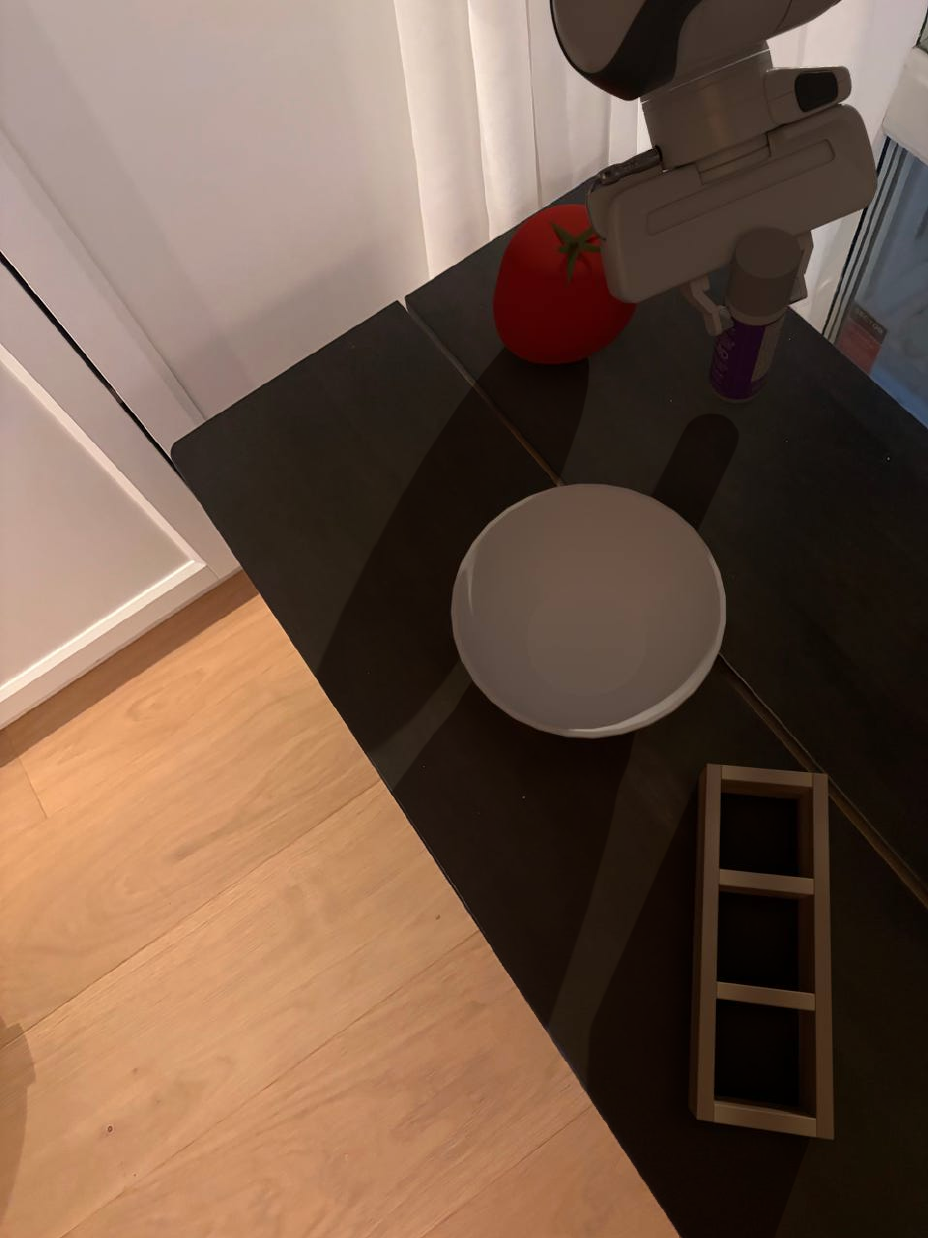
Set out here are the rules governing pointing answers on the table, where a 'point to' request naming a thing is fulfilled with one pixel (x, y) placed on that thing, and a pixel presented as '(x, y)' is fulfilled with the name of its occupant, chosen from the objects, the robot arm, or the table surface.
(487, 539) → the bowl
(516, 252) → the tomato
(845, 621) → the table surface
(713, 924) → the rack
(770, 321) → the container
